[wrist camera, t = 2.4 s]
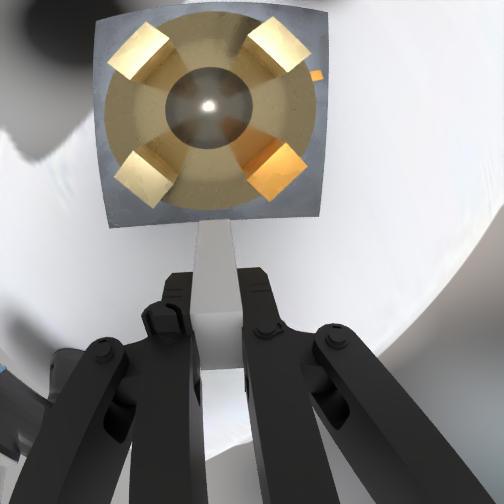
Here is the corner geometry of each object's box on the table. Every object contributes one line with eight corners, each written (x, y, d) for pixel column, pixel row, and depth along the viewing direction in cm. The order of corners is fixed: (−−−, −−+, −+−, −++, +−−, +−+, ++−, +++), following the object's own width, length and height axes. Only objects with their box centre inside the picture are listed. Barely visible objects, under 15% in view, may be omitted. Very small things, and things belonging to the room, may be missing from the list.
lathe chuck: (122, 209, 25) (104, 234, 20) (112, 32, 16) (89, 17, 11) (303, 199, 27) (323, 221, 22) (309, 24, 18) (332, 7, 13)
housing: (117, 217, 28) (108, 229, 25) (106, 27, 17) (95, 20, 15) (310, 206, 31) (319, 217, 28) (317, 19, 20) (328, 11, 17)
